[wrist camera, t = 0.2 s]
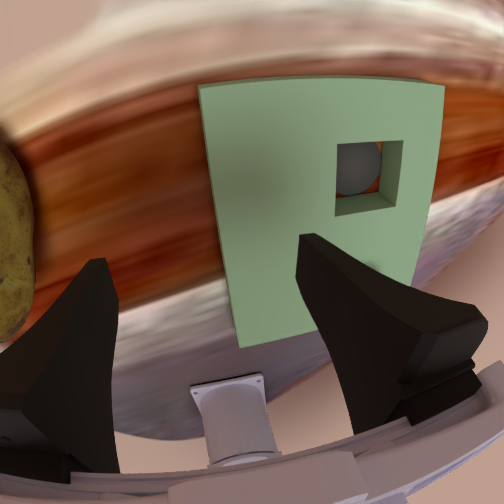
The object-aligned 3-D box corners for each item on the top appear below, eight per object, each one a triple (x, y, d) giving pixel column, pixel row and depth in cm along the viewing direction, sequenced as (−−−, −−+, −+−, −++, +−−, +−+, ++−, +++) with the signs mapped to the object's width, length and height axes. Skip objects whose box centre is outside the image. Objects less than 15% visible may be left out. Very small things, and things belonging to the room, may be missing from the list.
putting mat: (392, 288, 30) (404, 304, 28) (234, 326, 28) (239, 348, 26) (422, 79, 19) (444, 86, 17) (197, 84, 17) (199, 88, 15)
